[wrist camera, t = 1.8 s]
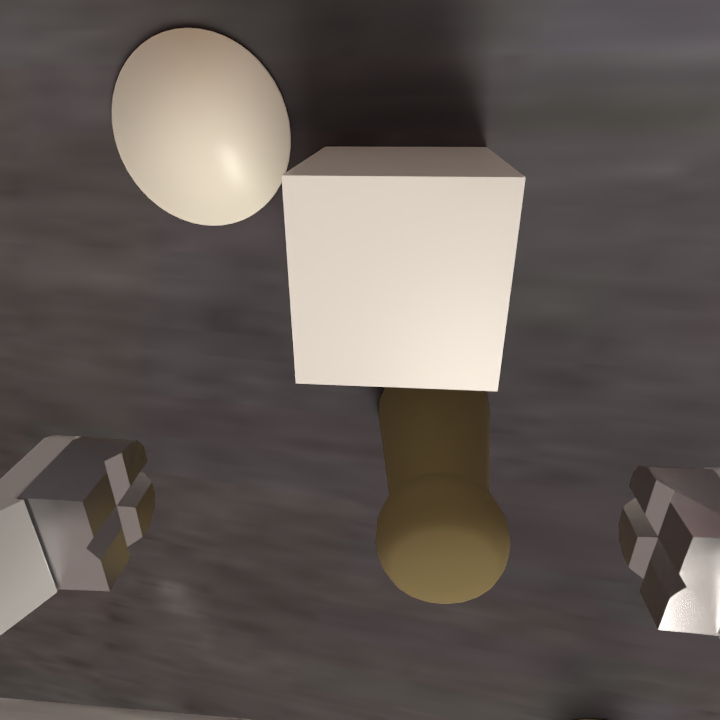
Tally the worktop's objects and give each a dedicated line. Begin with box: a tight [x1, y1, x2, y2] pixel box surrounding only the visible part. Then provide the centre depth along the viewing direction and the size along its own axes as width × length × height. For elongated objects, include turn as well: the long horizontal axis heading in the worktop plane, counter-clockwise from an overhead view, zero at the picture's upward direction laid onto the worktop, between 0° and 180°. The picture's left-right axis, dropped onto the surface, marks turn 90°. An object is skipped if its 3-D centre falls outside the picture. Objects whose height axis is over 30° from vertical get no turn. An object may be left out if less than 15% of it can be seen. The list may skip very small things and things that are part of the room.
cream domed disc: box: [112, 28, 291, 226], centre depth 23 cm, size 8×8×1 cm
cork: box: [375, 387, 510, 604], centre depth 24 cm, size 6×6×11 cm
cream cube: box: [282, 147, 526, 391], centre depth 21 cm, size 7×7×9 cm
